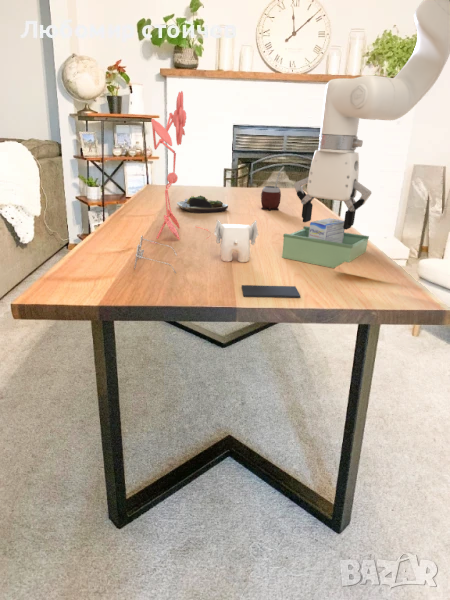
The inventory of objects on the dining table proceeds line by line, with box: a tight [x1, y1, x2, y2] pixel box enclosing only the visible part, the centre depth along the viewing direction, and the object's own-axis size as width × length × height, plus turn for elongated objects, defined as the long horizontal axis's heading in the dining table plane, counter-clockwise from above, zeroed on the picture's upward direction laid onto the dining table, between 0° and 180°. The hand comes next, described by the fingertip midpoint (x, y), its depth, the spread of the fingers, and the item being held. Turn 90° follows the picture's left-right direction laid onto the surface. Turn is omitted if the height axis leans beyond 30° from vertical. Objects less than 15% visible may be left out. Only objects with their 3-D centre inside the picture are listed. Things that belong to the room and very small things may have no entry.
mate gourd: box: [260, 166, 285, 212], centre depth 159 cm, size 8×8×15 cm
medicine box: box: [309, 217, 346, 243], centre depth 100 cm, size 8×4×9 cm, turn 134°
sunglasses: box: [133, 235, 178, 274], centre depth 93 cm, size 14×8×5 cm, turn 5°
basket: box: [281, 225, 370, 269], centre depth 101 cm, size 16×12×6 cm
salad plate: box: [176, 195, 229, 214], centre depth 158 cm, size 19×18×5 cm
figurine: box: [149, 90, 214, 244], centre depth 112 cm, size 15×26×35 cm, turn 2°
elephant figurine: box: [213, 218, 259, 263], centre depth 98 cm, size 10×12×9 cm
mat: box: [241, 284, 301, 299], centre depth 80 cm, size 10×5×1 cm, turn 92°
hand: (326, 224), depth 99 cm, fingers open, 9 cm apart
